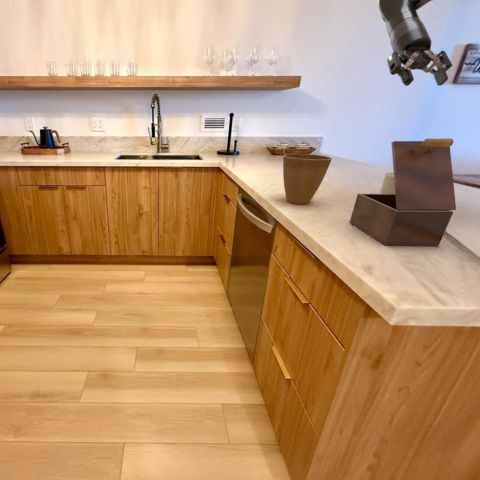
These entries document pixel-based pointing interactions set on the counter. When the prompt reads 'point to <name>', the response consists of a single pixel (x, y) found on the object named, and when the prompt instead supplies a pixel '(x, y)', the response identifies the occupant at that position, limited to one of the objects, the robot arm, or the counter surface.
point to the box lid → (423, 175)
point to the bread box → (398, 221)
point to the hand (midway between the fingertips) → (426, 82)
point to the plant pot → (303, 176)
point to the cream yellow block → (388, 184)
